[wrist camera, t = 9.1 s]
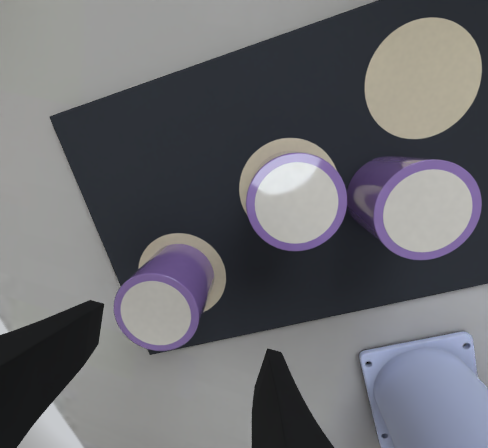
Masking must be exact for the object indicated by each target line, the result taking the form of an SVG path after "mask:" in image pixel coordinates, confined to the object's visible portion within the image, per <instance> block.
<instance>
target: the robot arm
mask: <svg viewBox="0 0 488 448" xmlns="http://www.w3.org/2000/svg"><path fill="white" fill-rule="evenodd" d="M103 308H104V304H103V303H99V302H95V301H92V300H90V301H87V302H84V303H82V304H79V305H77V306H75V307H72V308H70V309H68V310H65V311H63V312H61V313H58V314H56V315H53V316H51V317H48V318H46V319H44V320H41V321H38V322H36V323H33V324H30V325H28V326H25V327H22V328H20V329H17V330H14V331H11V332H8V333H5V334H2V335H0V448H17V446H18V445H19V444H20V442H21V441H22V439H23V438H24V436H25V435H26V434H27V433H28V431H29V430H30V428H31V427H32V426H33V425H34V423H35V422H36V421H37V419H38V418H39V417H40V416H41V415H42V413H43V412H44V411H45V410H46V409H47V407H48V406H49V405H50V404H51V403H52V402H53V401H54V400H55V398H56V397H57V396H58V395H59V394H60V393H61V391H62V390H63V389H64V388H65V387H66V386H67V385H68V383H69V382H70V381H71V380H72V379H73V378H74V376H75V375H76V374H77V373H78V372H79V371H80V369H81V368H82V367H83V366H84V364H85V363H86V361H87V360H88V359H89V357H90V356H91V354H92V353H93V351H94V350H95V348H96V347H97V345H98V342H99V336H100V329H101V322H102V315H103ZM465 343H467V344H466V345H464V344H465ZM463 345H464V346H463ZM359 359H360V363H361V367H362V372H363V376H364V380H365V384H366V389H367V393H368V397H369V402H370V406H371V410H372V414H373V419H374V423H375V427H376V432H377V436H378V440H379V444H380V446H381V448H488V388H487V387H486V386H485V385H484V384H483V383H482V381H481V380H480V379H479V378H478V376H477V368H476V360H475V352H474V344H473V338H472V336H471V335H470V334H469V333H468V332H457V333H452V334H447V335H442V336H436V337H431V338H426V339H421V340H416V341H410V342H405V343H400V344H395V345H390V346H384V347H379V348H374V349H369V350H364V351H362V352H361V353H360V354H359ZM366 362H369V363H368V364H365V363H366ZM252 448H334V447H333V445H332V444H331V443H330V441H329V440H328V438H327V437H326V436H325V434H324V433H323V431H322V430H321V428H320V427H319V425H318V424H317V422H316V420H315V419H314V417H313V416H312V414H311V412H310V410H309V409H308V407H307V405H306V403H305V401H304V399H303V398H302V396H301V394H300V392H299V390H298V388H297V386H296V384H295V382H294V379H293V377H292V375H291V373H290V371H289V368H288V366H287V364H286V361H285V359H284V357H283V355H282V353H281V352H278V351H275V350H271V349H267V351H266V354H265V357H264V360H263V363H262V366H261V369H260V372H259V375H258V378H257V381H256V384H255V389H254V397H253V407H252Z"/></svg>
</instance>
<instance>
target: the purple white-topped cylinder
mask: <svg viewBox="0 0 488 448" xmlns="http://www.w3.org/2000/svg"><path fill="white" fill-rule="evenodd" d="M346 209H347V192H346V188H345V184H344V182H343V180H342V178H341V176H340V174H339V173H338V172H337V170H336V169H335V168H334V167H333V166H332V165H331V164H330V163H328V162H327V161H325V160H324V159H322V158H320V157H318V156H315V155H312V154H308V153H303V152H297V151H283V152H279V153H276V154H274V155H272V156H270V157H268V158H267V159H266V160H264V161H263V162H262V163H261V164H260V166H259V167H258V168H257V170H256V172H255V174H254V176H253V178H252V180H251V183H250V185H249V188H248V191H247V196H246V211H247V215H248V219H249V221H250V224H251V226H252V227H253V229H254V230H255V232H256V233H257V234H258V235H259V236H260V238H262V239H263V240H264V241H265V242H267V243H268V244H270V245H272V246H274V247H276V248H279V249H282V250H287V251H303V250H308V249H312V248H314V247H317V246H319V245H321V244H322V243H324V242H326V241H327V240H328V239H329V238H331V237H332V235H333V234H334V233H335V232H336V231H337V230H338V228H339V227H340V225H341V223H342V221H343V219H344V217H345V213H346Z"/></svg>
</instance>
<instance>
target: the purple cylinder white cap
mask: <svg viewBox="0 0 488 448" xmlns="http://www.w3.org/2000/svg"><path fill="white" fill-rule="evenodd" d="M347 206H348V210H349V212H350V214H351V216H352V217H353V219H354V220H355V221H356V222H357V223H358V224H359V225H360V226H362V227H363V228H364V229H365V230H366V231H367V232H369V233H370V234H371V235H372V236H373V237H375V238H376V239H377V240H378V241H379V242H380V243H382V244H383V245H384V246H385V247H386V248H387V249H389V250H390V251H391V252H393V253H394V254H396V255H398V256H401V257H404V258H407V259H412V260H429V259H434V258H438V257H441V256H443V255H446V254H448V253H450V252H452V251H453V250H455V249H456V248H458V247H459V246H460V245H461V244H463V243H464V242H465V241H466V240H467V239H468V237H469V236H470V235H471V233H472V232H473V231H474V229H475V227H476V225H477V223H478V220H479V217H480V214H481V207H482V200H481V193H480V190H479V187H478V185H477V183H476V181H475V179H474V178H473V177H472V176H471V174H470V173H469V172H468V171H466V170H465V169H464V168H462V167H461V166H459V165H457V164H455V163H452V162H449V161H445V160H437V159H425V158H412V157H399V156H384V157H379V158H376V159H373V160H371V161H369V162H368V163H366V164H364V165H363V166H362V167H361V168H360V169H359V170H358V171H357V172H356V173H355V174H354V176H353V177H352V179H351V181H350V183H349V186H348V189H347Z"/></svg>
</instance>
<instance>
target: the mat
mask: <svg viewBox="0 0 488 448" xmlns="http://www.w3.org/2000/svg"><path fill="white" fill-rule="evenodd" d="M50 119H51V122H52V124H53V126H54V129H55V131H56V134H57V136H58V138H59V141H60V143H61V145H62V148H63V150H64V153H65V155H66V157H67V160H68V162H69V164H70V167H71V169H72V171H73V174H74V176H75V179H76V181H77V183H78V186H79V188H80V190H81V193H82V195H83V197H84V200H85V202H86V205H87V207H88V209H89V212H90V214H91V216H92V219H93V221H94V224H95V226H96V228H97V231H98V233H99V235H100V238H101V240H102V242H103V245H104V247H105V250H106V252H107V254H108V257H109V259H110V261H111V264H112V266H113V268H114V271H115V273H116V276H117V278H118V280H119V283H120V285H121V286H122V285H123V284H124V283H125V282H126V281H127V280H128V279H129V278H130V277H131V276H132V275H133V274H134V273H135V272H136V271H137V270H138V269H139V268H140V267H141V266H142V265H143V264H144V263H146V262H147V261H148V260H149V259H150V258H151V257H152V256H153V255H154V254H155V253H156V252H157V251H158V250H160V249H161V248H163V247H165V246H167V245H171V244H185V245H189V246H192V247H194V248H196V249H198V250H199V251H201V252H202V253H203V254H204V255H205V256H206V257H207V258H208V260H209V261H210V263H211V265H212V267H213V271H214V285H213V288H212V291H211V293H210V296H209V299H208V301H207V304H206V306H205V309H204V312H203V314H202V317H201V320H200V322H199V325H198V327H197V330H196V332H195V334H194V335H193V337H192V338H191V339H190V340H189V341H188V342H187V343H185V344H184V345H182V346H180V347H178V348H176V349H180V348H185V347H189V346H194V345H199V344H203V343H208V342H213V341H218V340H222V339H227V338H232V337H237V336H241V335H246V334H251V333H255V332H260V331H265V330H270V329H274V328H279V327H284V326H289V325H293V324H298V323H303V322H307V321H312V320H317V319H322V318H326V317H331V316H336V315H341V314H345V313H350V312H355V311H359V310H364V309H369V308H374V307H378V306H383V305H388V304H393V303H397V302H402V301H407V300H411V299H416V298H421V297H426V296H430V295H435V294H440V293H445V292H449V291H454V290H459V289H463V288H468V287H473V286H478V285H482V284H487V283H488V0H378V1H375V2H373V3H370V4H367V5H364V6H361V7H358V8H356V9H353V10H350V11H347V12H344V13H342V14H339V15H336V16H333V17H330V18H327V19H325V20H322V21H319V22H316V23H313V24H310V25H308V26H305V27H302V28H299V29H296V30H293V31H291V32H288V33H285V34H282V35H279V36H276V37H274V38H271V39H268V40H265V41H262V42H259V43H257V44H254V45H251V46H248V47H245V48H242V49H240V50H237V51H234V52H231V53H228V54H226V55H223V56H220V57H217V58H214V59H211V60H209V61H206V62H203V63H200V64H197V65H194V66H192V67H189V68H186V69H183V70H180V71H177V72H175V73H172V74H169V75H166V76H163V77H160V78H158V79H155V80H152V81H149V82H146V83H143V84H141V85H138V86H135V87H132V88H129V89H127V90H124V91H121V92H118V93H115V94H112V95H110V96H107V97H104V98H101V99H98V100H95V101H93V102H90V103H87V104H84V105H81V106H78V107H76V108H73V109H70V110H67V111H64V112H61V113H59V114H56V115H53V116H50ZM283 151H297V152H303V153H308V154H312V155H315V156H318V157H320V158H322V159H324V160H325V161H327V162H328V163H330V164H331V165H332V166H333V167H334V168H335V169H336V170H337V172H338V173H339V174H340V176H341V178H342V180H343V182H344V184H345V188H346V192H347V189H348V186H349V183H350V181H351V179H352V177H353V176H354V174H355V173H356V172H357V171H358V170H359V169H360V168H361V167H362V166H363V165H364V164H366V163H368V162H369V161H371V160H373V159H376V158H379V157H384V156H399V157H412V158H425V159H437V160H445V161H449V162H452V163H455V164H457V165H459V166H461V167H462V168H464V169H465V170H466V171H468V172H469V173H470V174H471V176H472V177H473V178H474V179H475V181H476V183H477V185H478V187H479V190H480V193H481V200H482V207H481V214H480V217H479V220H478V223H477V225H476V227H475V229H474V231H473V232H472V233H471V235H470V236H469V237H468V239H467V240H466V241H465V242H464V243H463V244H461V245H460V246H459V247H458V248H456V249H455V250H453V251H452V252H450V253H448V254H446V255H443V256H441V257H438V258H434V259H429V260H412V259H407V258H404V257H401V256H398V255H396V254H394V253H393V252H391V251H390V250H389V249H387V248H386V247H385V246H384V245H383V244H382V243H380V242H379V241H378V240H377V239H376V238H375V237H373V236H372V235H371V234H370V233H369V232H367V231H366V230H365V229H364V228H363V227H362V226H360V225H359V224H358V223H357V222H356V221H355V220H354V219H353V217H352V216H351V214H350V212H349V210H348V206H347V209H346V213H345V217H344V219H343V221H342V223H341V225H340V227H339V228H338V230H337V231H336V232H335V233H334V234H333V235H332V237H331V238H329V239H328V240H327V241H326V242H324V243H322V244H321V245H319V246H317V247H314V248H312V249H308V250H303V251H287V250H282V249H279V248H276V247H274V246H272V245H270V244H268V243H267V242H265V241H264V240H263V239H262V238H260V236H259V235H258V234H257V233H256V232H255V230H254V229H253V227H252V226H251V224H250V221H249V219H248V215H247V211H246V196H247V191H248V188H249V185H250V183H251V180H252V178H253V176H254V174H255V172H256V170H257V168H258V167H259V166H260V164H261V163H262V162H263V161H264V160H266V159H267V158H268V157H270V156H272V155H274V154H276V153H279V152H283ZM172 350H175V349H172ZM148 351H149V354H150V355H151V354H156V353H161V352H166V351H155V350H150V349H148ZM167 351H170V350H167Z"/></svg>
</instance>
